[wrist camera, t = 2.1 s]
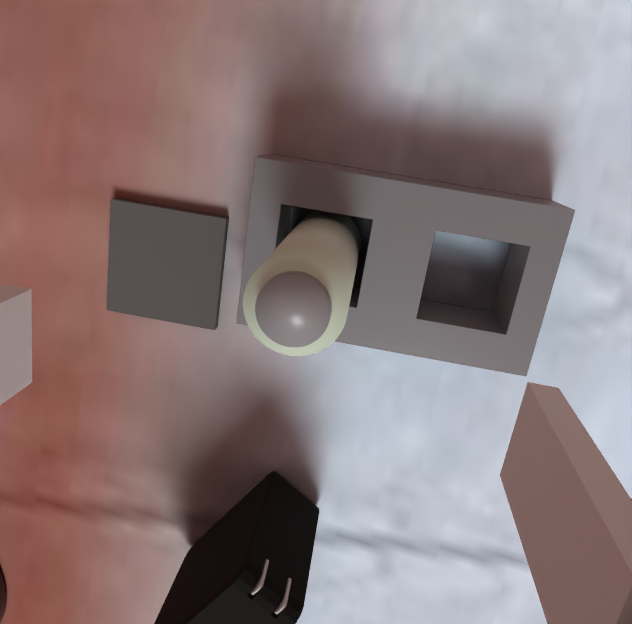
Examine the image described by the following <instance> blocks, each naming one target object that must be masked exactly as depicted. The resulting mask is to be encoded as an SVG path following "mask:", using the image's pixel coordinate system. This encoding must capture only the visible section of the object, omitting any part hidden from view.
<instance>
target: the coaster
mask: <svg viewBox="0 0 632 624" xmlns="http://www.w3.org/2000/svg"><path fill="white" fill-rule="evenodd" d="M228 221H229V217H223V216H217V215H211V214H206V213H200V212H194V211H188V210H182V209H177V208H171V207H165V206H159V205H153V204H148V203H142V202H136V201H130V200H124V199H119V198H114V199H111V215H110V241H109V267H108V293H107V310H109V311H114V312H120V313H125V314H131V315H136V316H142V317H147V318H152V319H158V320H163V321H169V322H174V323H180V324H185V325H190V326H196V327H201V328H207V329H212V330H215V329H216V328H217V327H218V317H219V307H220V298H221V288H222V278H223V269H224V259H225V250H226V240H227V230H228Z"/></svg>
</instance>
